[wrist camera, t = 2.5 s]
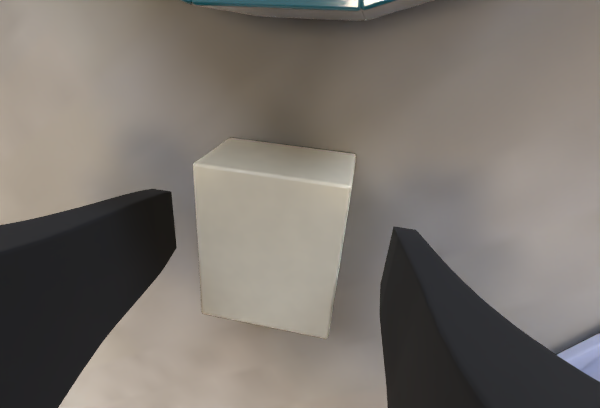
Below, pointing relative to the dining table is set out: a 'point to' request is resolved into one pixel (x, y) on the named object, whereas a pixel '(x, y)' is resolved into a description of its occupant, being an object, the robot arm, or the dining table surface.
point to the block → (271, 232)
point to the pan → (312, 8)
